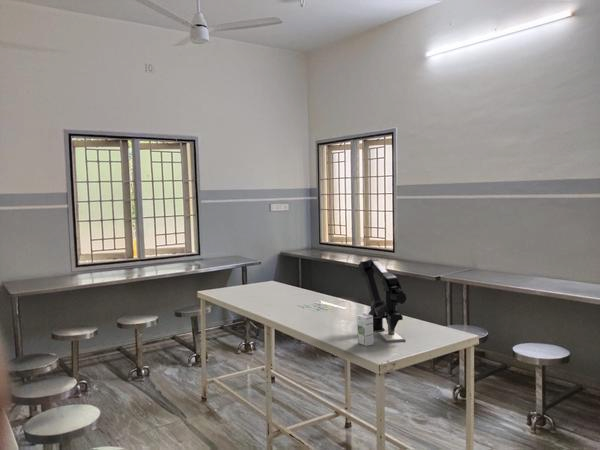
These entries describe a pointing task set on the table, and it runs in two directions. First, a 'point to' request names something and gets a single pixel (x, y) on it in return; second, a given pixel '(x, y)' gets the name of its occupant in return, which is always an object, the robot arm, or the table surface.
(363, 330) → the syrup box
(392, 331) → the marker
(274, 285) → the table surface
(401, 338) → the writing board
